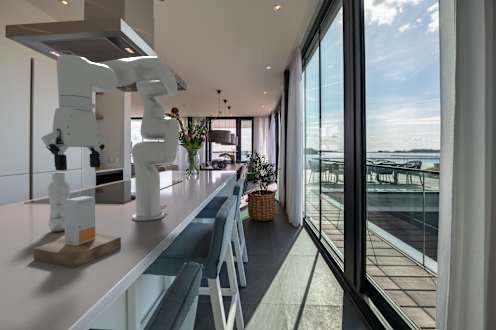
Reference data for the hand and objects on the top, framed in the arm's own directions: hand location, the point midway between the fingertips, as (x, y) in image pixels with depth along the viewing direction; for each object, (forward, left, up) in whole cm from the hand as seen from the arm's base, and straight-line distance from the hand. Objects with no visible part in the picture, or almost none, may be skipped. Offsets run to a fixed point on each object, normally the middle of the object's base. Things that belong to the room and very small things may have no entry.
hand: (79, 168), depth 69 cm
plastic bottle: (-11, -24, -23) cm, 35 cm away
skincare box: (+1, +1, -20) cm, 20 cm away
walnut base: (+1, +1, -23) cm, 23 cm away
